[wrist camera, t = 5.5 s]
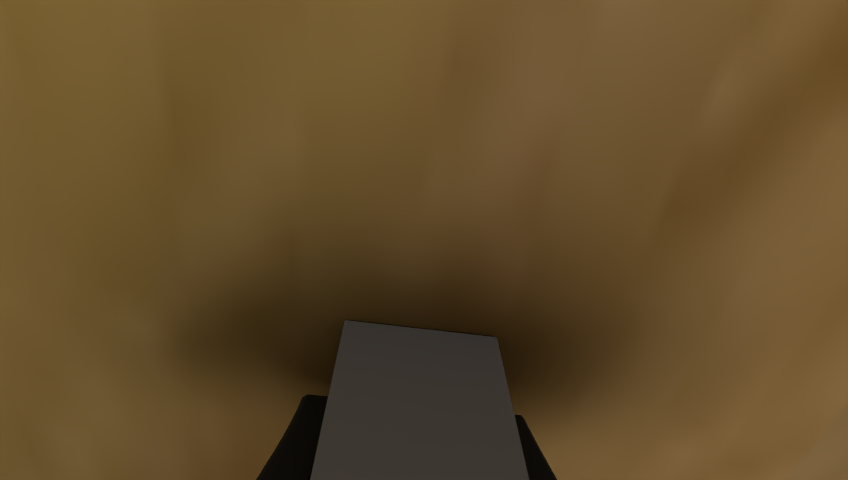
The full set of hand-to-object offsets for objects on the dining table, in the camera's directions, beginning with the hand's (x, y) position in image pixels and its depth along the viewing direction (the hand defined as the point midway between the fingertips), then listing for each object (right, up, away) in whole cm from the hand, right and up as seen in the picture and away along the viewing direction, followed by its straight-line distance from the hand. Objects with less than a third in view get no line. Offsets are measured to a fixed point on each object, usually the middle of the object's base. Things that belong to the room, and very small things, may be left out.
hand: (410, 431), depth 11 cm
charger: (0, +1, +1) cm, 2 cm away
